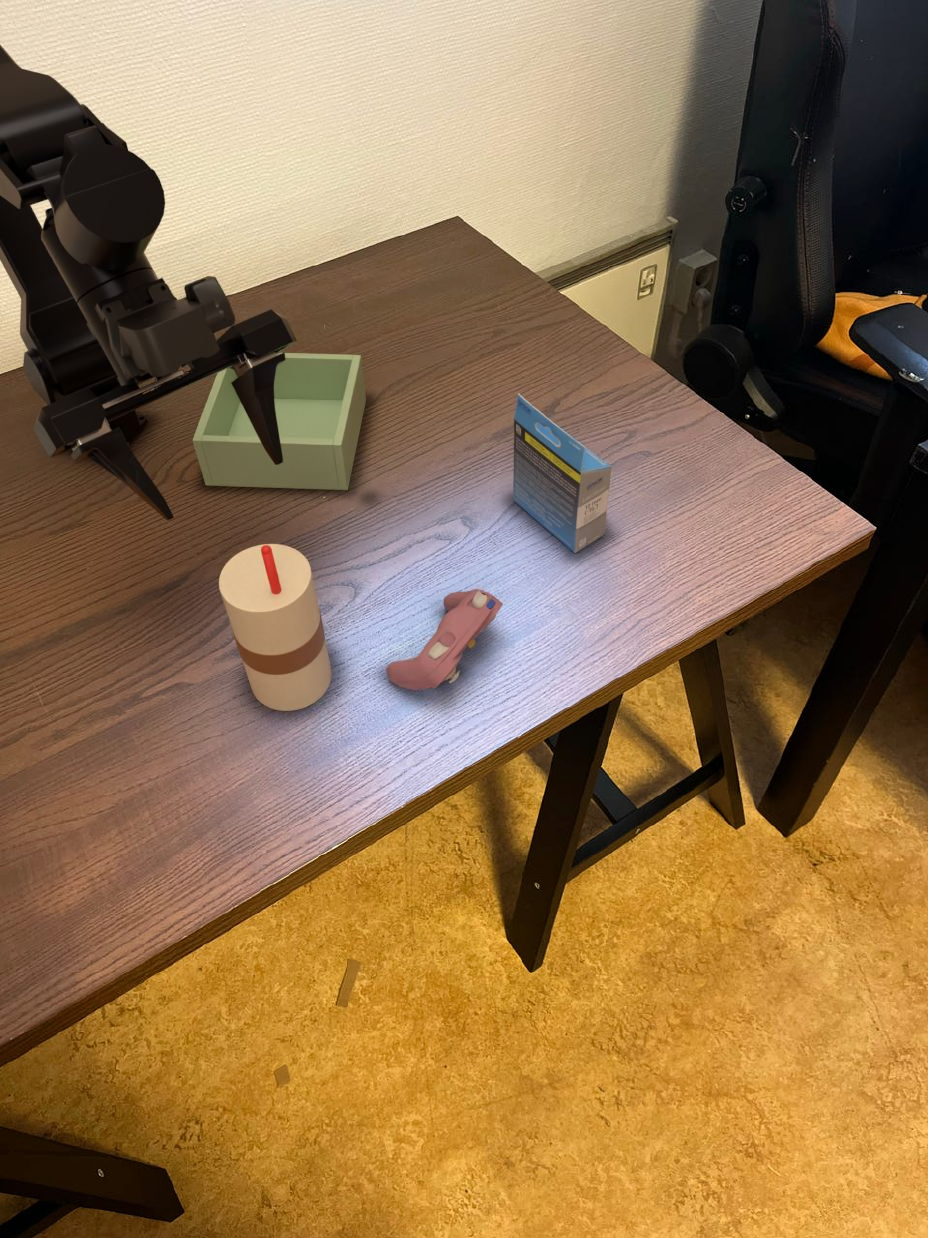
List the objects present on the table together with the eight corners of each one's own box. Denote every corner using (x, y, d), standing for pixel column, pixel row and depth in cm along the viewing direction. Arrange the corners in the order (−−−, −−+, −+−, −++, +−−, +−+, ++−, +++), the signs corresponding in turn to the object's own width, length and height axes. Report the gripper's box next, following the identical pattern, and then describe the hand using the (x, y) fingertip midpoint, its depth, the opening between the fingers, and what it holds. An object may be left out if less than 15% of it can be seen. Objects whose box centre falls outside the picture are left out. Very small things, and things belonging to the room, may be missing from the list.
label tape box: (606, 536, 84) (622, 427, 75) (571, 556, 83) (583, 448, 73) (542, 483, 89) (549, 374, 79) (508, 502, 87) (512, 393, 78)
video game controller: (422, 714, 74) (454, 686, 68) (377, 677, 74) (406, 645, 68) (486, 631, 79) (522, 597, 74) (445, 596, 79) (477, 559, 73)
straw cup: (235, 671, 75) (186, 525, 63) (306, 632, 78) (272, 485, 65) (275, 726, 72) (232, 584, 59) (347, 684, 74) (321, 539, 62)
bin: (205, 485, 89) (191, 440, 85) (236, 396, 98) (225, 350, 93) (347, 490, 88) (341, 444, 84) (366, 399, 97) (361, 354, 93)
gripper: (-12, 306, 54) (128, 545, 58) (264, 202, 62) (371, 421, 66) (-16, 348, 64) (103, 551, 68) (222, 254, 72) (318, 442, 76)
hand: (226, 490), depth 69 cm, fingers open, 9 cm apart
